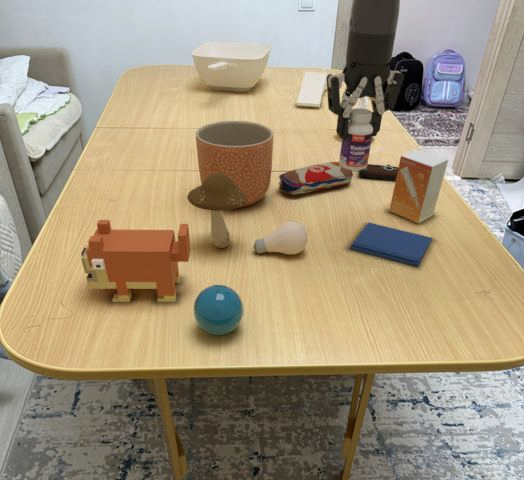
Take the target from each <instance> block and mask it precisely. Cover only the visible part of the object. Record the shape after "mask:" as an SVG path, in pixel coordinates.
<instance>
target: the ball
mask: <svg viewBox="0 0 524 480" xmlns="http://www.w3.org/2000/svg"><path fill="white" fill-rule="evenodd" d="M244 310H245V309H244V305H243V300H242V298H241V296H240V295H239V293H237V291H235V290H234V289H233V288H231V287H230V286H227V285H224V284H213V285H209V286H207V287H205V288H203V289H202V290H201V291H200V292H199V293H198V295H197V297H196V298H195V300H194V303H193V316H194V320H195V322H196V324H197V325H198V326H199V328H201V330H203V331H204V332H206V333H208V334H210V335H215V336H222V335H227V334H229V333H232V332H233V331H234V330H235V329H237V328H238V327H239V326H240V324H241V322H242V319H243V317H244V312H245V311H244Z"/></svg>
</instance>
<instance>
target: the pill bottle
mask: <svg viewBox="0 0 524 480" xmlns="http://www.w3.org/2000/svg"><path fill="white" fill-rule="evenodd" d="M372 112H373V111H371V110H370V109H367V108H366V109H362V108H357V107H354V108H352V110H351V112H350V114H349V116H348V117H349V125H348V133H347V138H346V139H341V145H340V153H339V161H338V162H339V164H340V166H341V167H343V168H345V169H348V170H351V171H359V170H362V169H365V168H366V167H367V164H369V158H370V151H371V145H372V139H373V136H372V134H373V126H372V125H371V124H370V123H369V122H370V121H371V117H372Z"/></svg>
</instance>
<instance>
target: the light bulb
mask: <svg viewBox="0 0 524 480" xmlns="http://www.w3.org/2000/svg"><path fill="white" fill-rule="evenodd" d="M308 237H309V235H308V231H307V230H306V228H305V226H303V225H302V223H300V222H298V221H295V220H290V221H289V220H288V221H286V222H284V223H282V224H280V225H279V226H278V227H277V228H275V230H273V231H272V232H271V233H269V234H267V235H265V236H264V237H263V238H259V239H255V241H254V244H253V249H254V250H255V252H257V254H263V253H267V252H268V253H280V254H283V255H288V256H293V255H297V254H299V253H301V252H302V251H303V250H305V248H306V246H307V243H308V241H309V238H308Z"/></svg>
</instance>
